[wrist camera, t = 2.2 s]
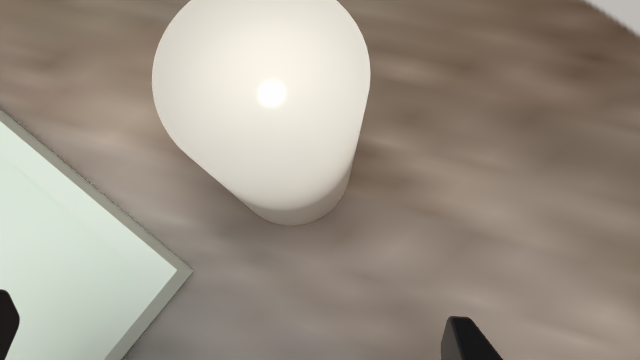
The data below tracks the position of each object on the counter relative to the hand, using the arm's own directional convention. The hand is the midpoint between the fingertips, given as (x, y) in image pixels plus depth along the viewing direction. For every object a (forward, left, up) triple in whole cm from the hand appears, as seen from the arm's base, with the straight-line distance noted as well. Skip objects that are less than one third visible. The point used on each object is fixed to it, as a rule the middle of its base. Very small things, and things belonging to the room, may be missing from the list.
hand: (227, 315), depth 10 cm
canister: (+3, -5, -12) cm, 14 cm away
